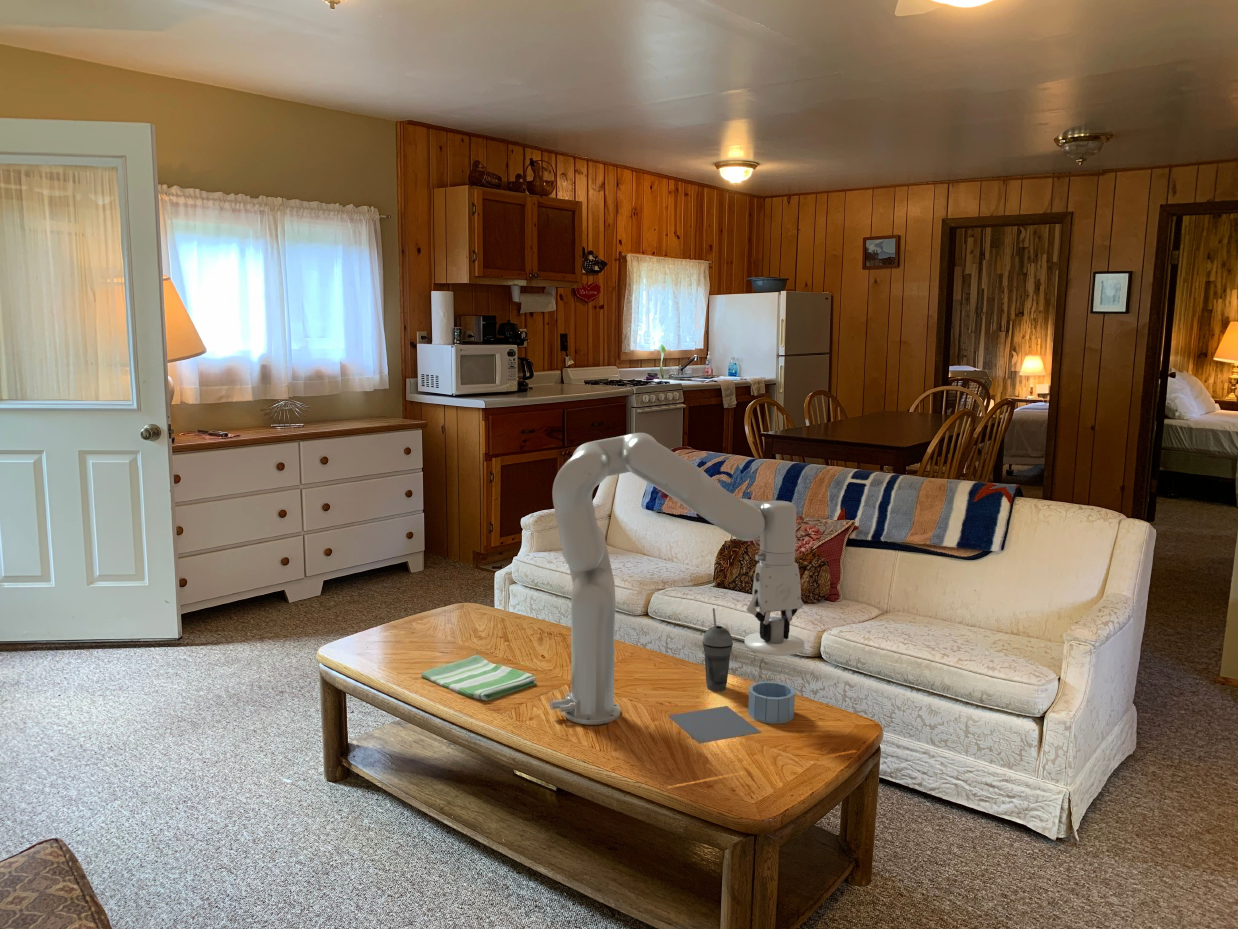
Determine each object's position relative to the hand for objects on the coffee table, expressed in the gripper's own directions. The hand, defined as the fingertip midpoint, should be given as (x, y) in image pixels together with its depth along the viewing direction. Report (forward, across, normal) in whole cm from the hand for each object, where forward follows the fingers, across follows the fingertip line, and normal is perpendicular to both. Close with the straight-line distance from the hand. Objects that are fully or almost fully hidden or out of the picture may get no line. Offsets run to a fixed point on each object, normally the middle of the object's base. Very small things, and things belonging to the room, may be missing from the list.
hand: (774, 637), depth 205 cm
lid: (+2, 0, 0) cm, 2 cm away
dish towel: (+18, -56, +44) cm, 73 cm away
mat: (+18, -15, 0) cm, 23 cm away
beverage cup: (+18, -4, +18) cm, 26 cm away
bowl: (+18, 0, 0) cm, 18 cm away
